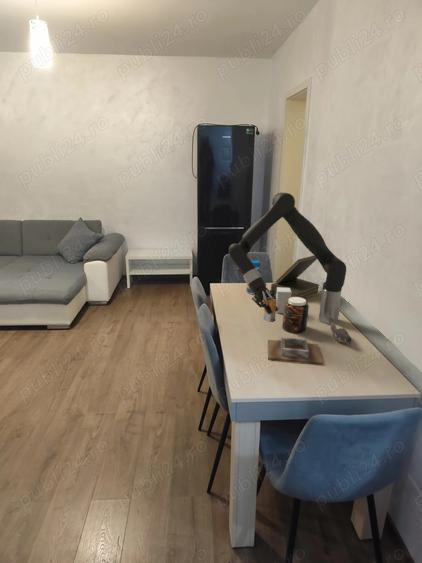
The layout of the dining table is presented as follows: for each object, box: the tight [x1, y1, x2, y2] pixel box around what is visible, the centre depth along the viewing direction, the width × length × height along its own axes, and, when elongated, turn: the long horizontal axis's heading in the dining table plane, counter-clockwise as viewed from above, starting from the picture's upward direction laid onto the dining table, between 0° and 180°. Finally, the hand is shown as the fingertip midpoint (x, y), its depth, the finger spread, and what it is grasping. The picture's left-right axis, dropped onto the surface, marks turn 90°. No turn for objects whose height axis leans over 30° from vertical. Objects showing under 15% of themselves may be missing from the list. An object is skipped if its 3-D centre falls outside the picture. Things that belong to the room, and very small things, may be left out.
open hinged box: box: [270, 254, 320, 299], centre depth 226 cm, size 23×20×25 cm
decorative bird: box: [326, 317, 353, 346], centre depth 173 cm, size 6×25×5 cm, turn 6°
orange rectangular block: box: [263, 298, 277, 323], centre depth 168 cm, size 5×4×10 cm
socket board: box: [267, 337, 324, 366], centre depth 157 cm, size 22×16×4 cm
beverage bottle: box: [245, 259, 262, 295], centre depth 226 cm, size 8×8×20 cm
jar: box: [282, 297, 310, 334], centre depth 179 cm, size 12×12×15 cm
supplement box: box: [275, 287, 292, 314], centre depth 199 cm, size 7×7×13 cm
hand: (273, 312), depth 167 cm, fingers closed on orange rectangular block, 3 cm apart
